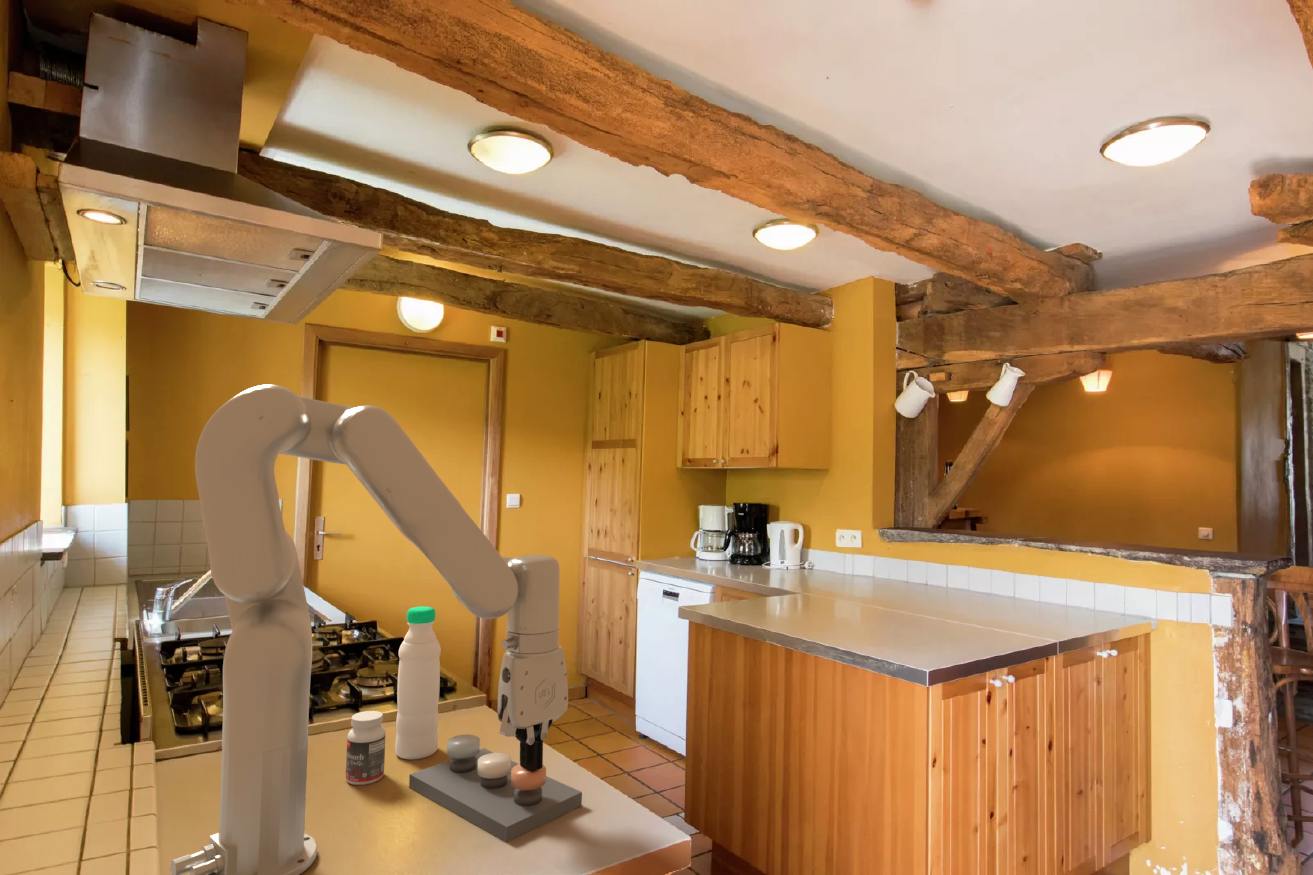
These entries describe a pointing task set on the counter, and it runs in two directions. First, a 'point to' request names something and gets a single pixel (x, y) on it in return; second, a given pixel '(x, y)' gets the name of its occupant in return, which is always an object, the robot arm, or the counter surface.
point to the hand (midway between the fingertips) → (531, 767)
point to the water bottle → (418, 687)
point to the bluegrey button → (463, 746)
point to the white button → (494, 765)
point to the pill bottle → (365, 748)
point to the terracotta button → (527, 778)
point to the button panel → (493, 797)
